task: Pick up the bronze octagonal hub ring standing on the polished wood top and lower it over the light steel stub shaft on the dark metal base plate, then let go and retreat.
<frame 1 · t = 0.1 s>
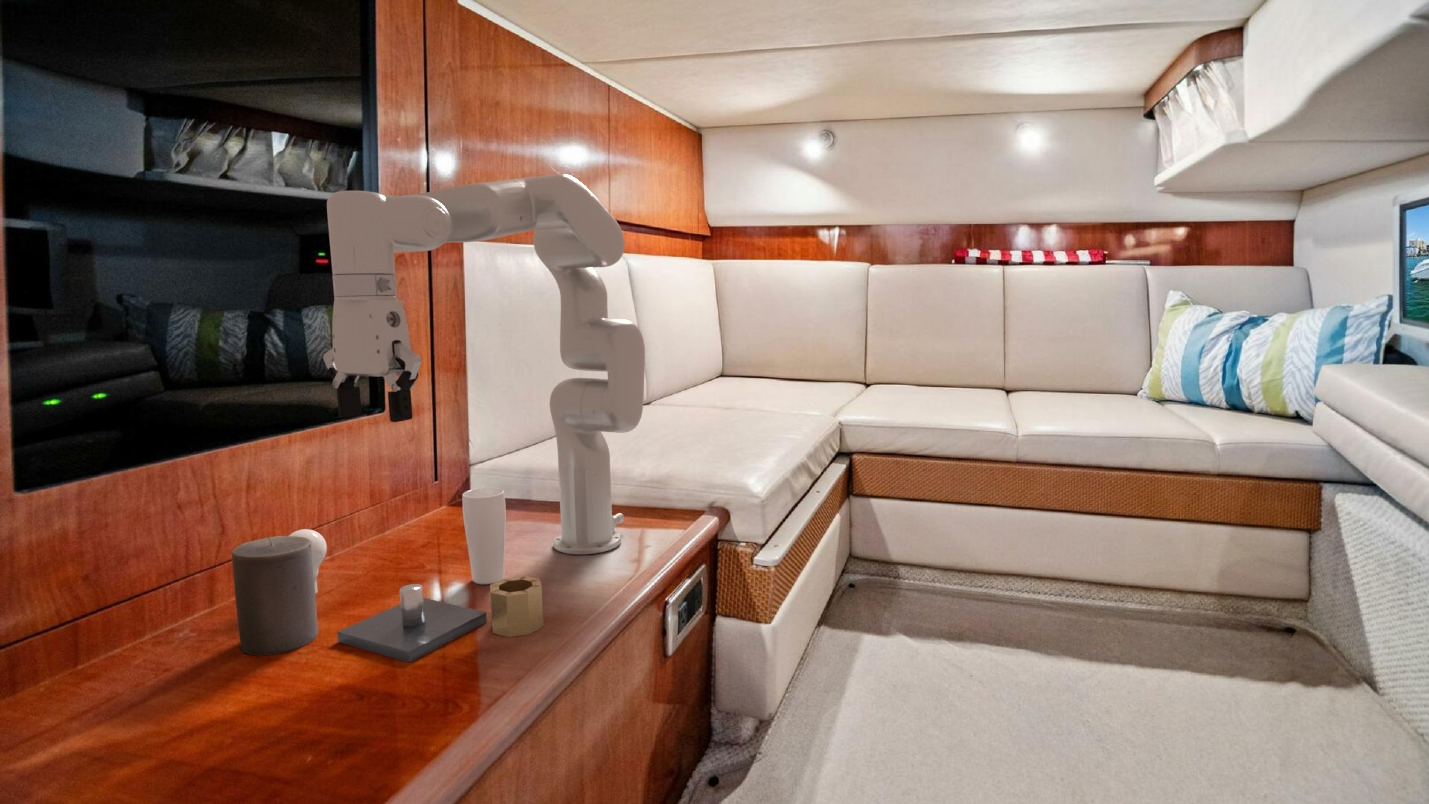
hand: (375, 418, 105), 31 cm above the counter, fingers open, 9 cm apart
drinking glass: (488, 581, 132), on the counter
shaft block: (414, 631, 112), on the counter
lightbulb: (308, 597, 126), on the counter
pillar candle: (281, 641, 110), on the counter
hub ring: (517, 625, 113), on the counter
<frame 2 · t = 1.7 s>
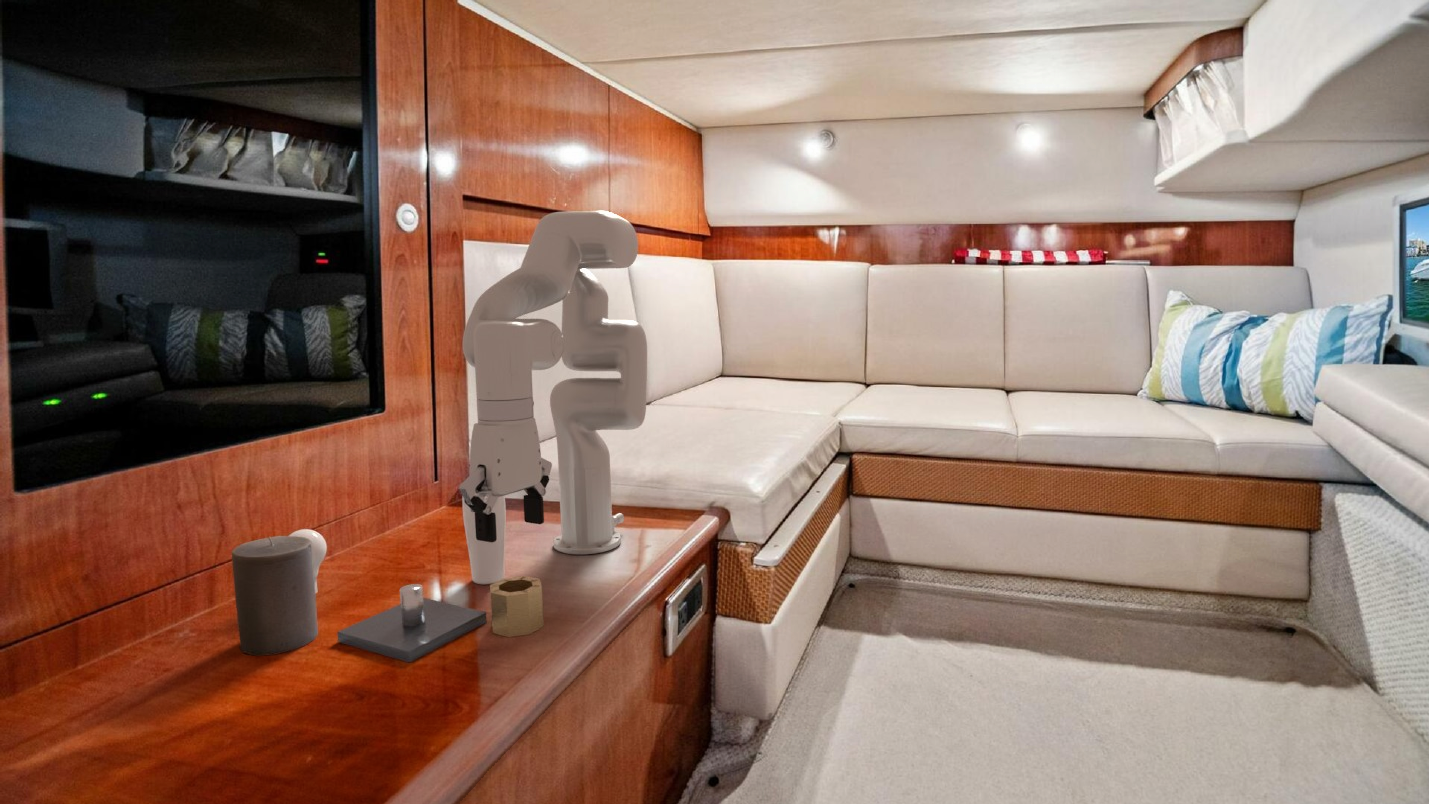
hand: (511, 531, 111), 14 cm above the counter, fingers open, 9 cm apart
nothing on the counter moved.
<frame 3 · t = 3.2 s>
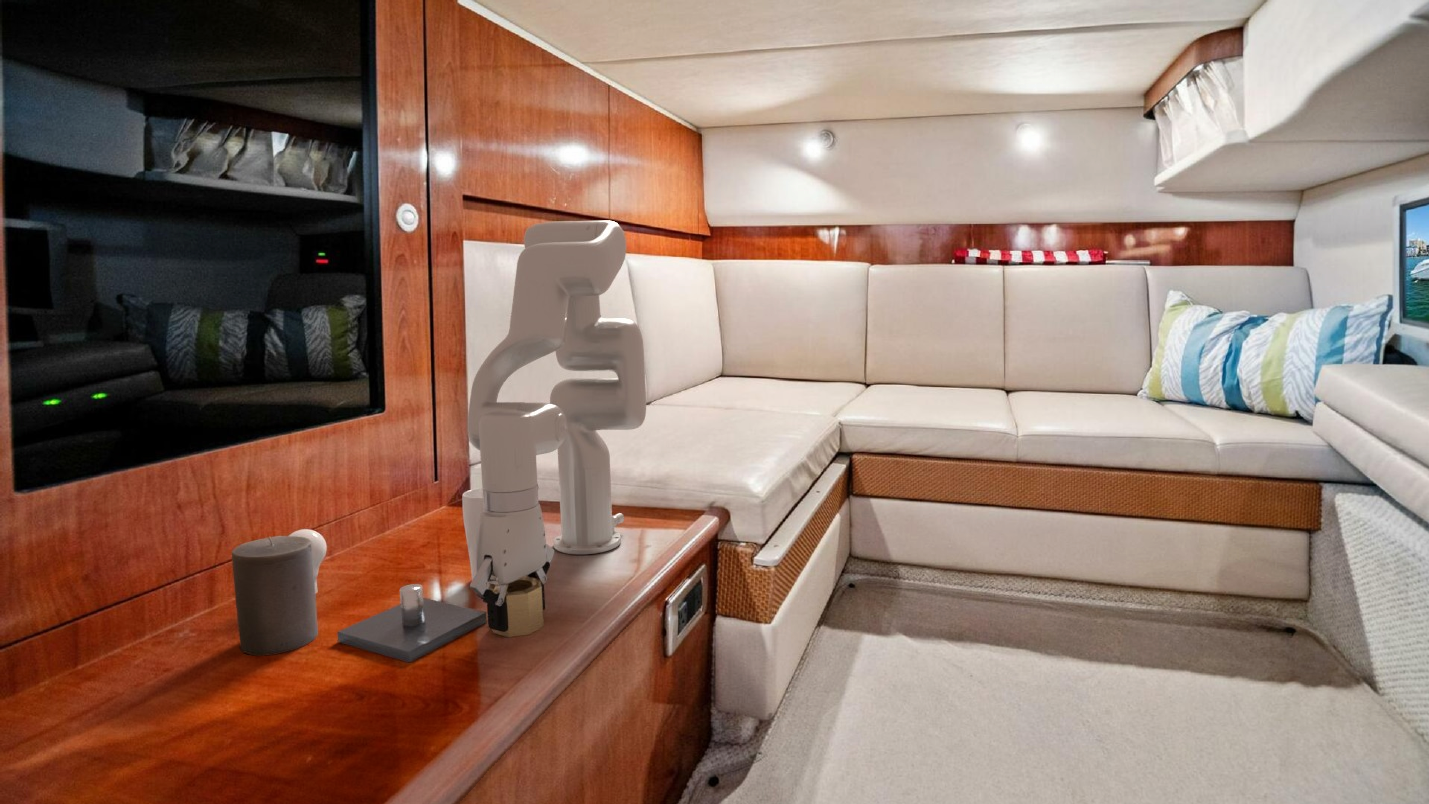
hand: (517, 618, 113), 1 cm above the counter, fingers closed on hub ring, 7 cm apart
hub ring: (517, 625, 113), on the counter, touching gripper
everything else where it was.
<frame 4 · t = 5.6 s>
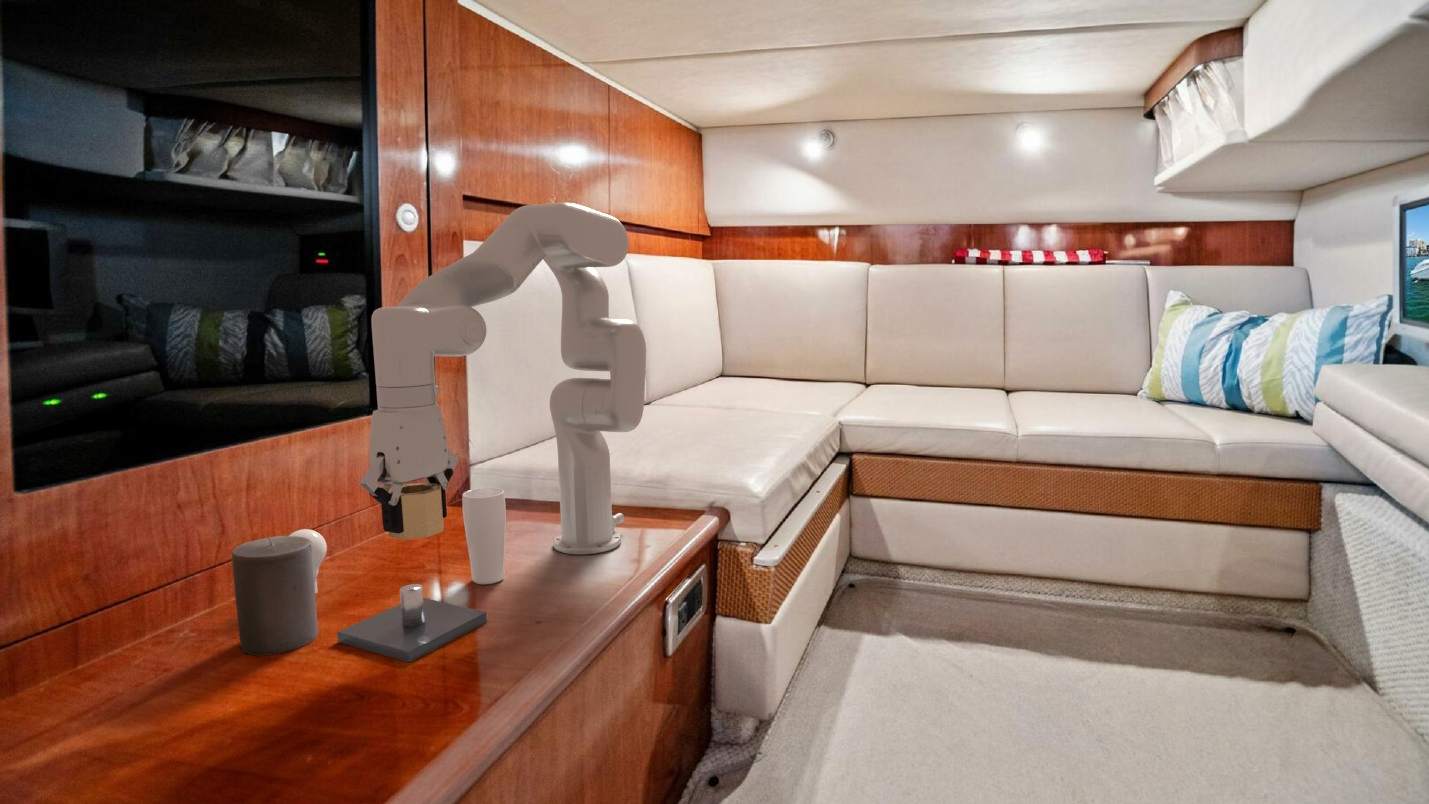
hand: (416, 523, 110), 16 cm above the counter, fingers closed on hub ring, 7 cm apart
hub ring: (417, 531, 110), point 15 cm above the counter, touching gripper
everything else where it was.
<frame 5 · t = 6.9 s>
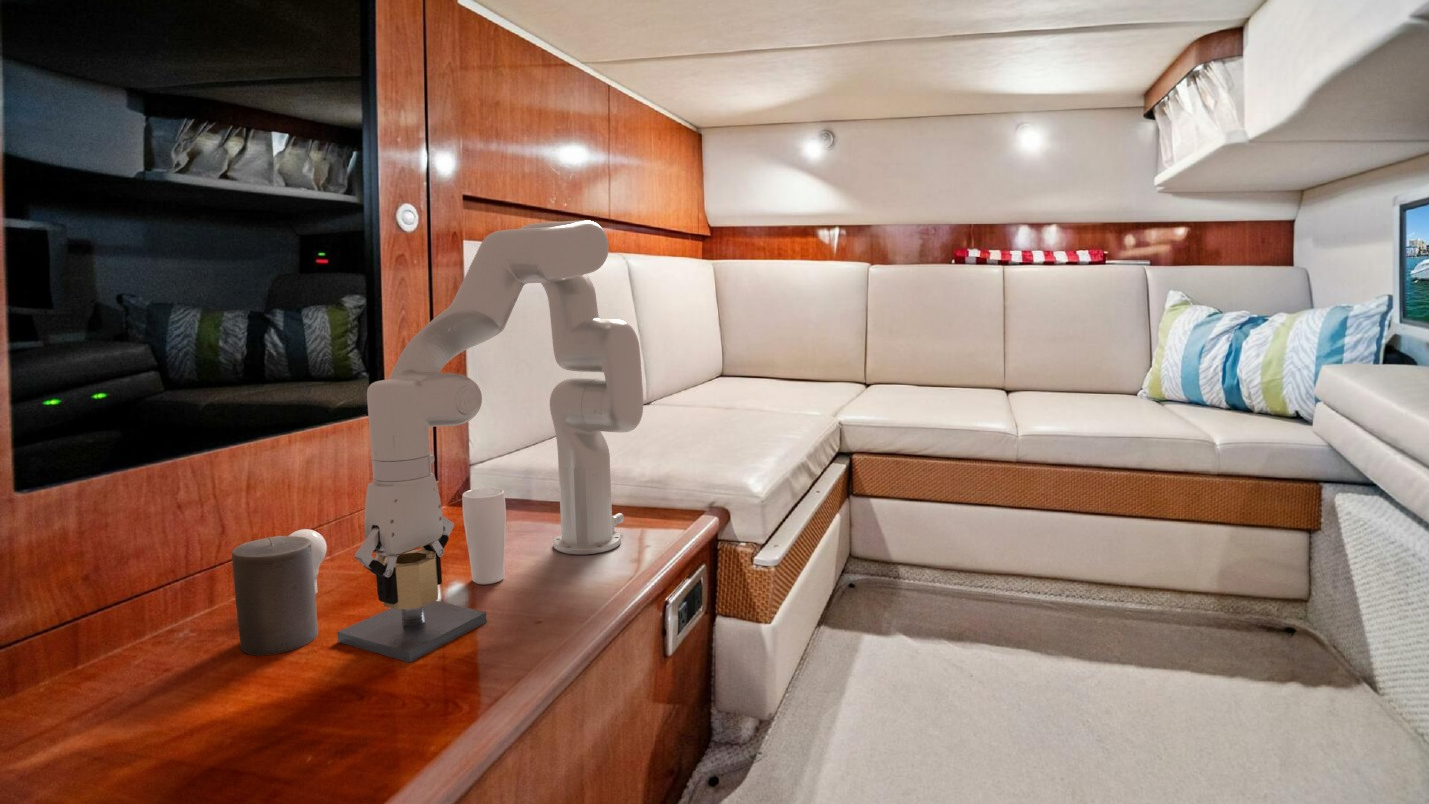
hand: (411, 591, 111), 6 cm above the counter, fingers closed on hub ring, 7 cm apart
hub ring: (411, 599, 111), point 5 cm above the counter, touching gripper
everything else where it was.
when the fingers open (3 cm above the counter, at t = 7.9 s): hub ring stays where it is, resting on shaft block.
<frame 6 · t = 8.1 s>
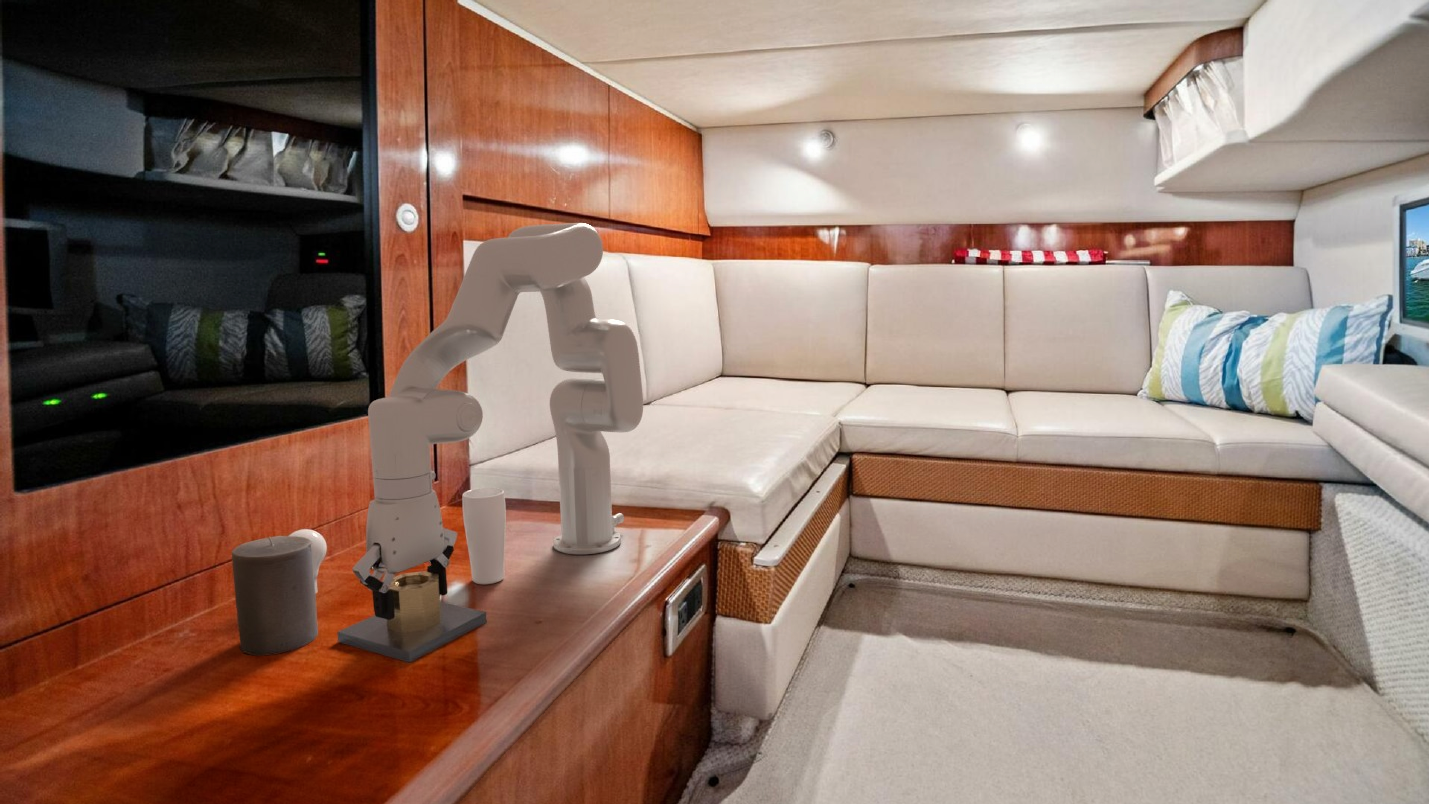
hand: (412, 604, 111), 4 cm above the counter, fingers open, 9 cm apart
hub ring: (414, 621, 112), point 1 cm above the counter, touching shaft block
everything else where it was.
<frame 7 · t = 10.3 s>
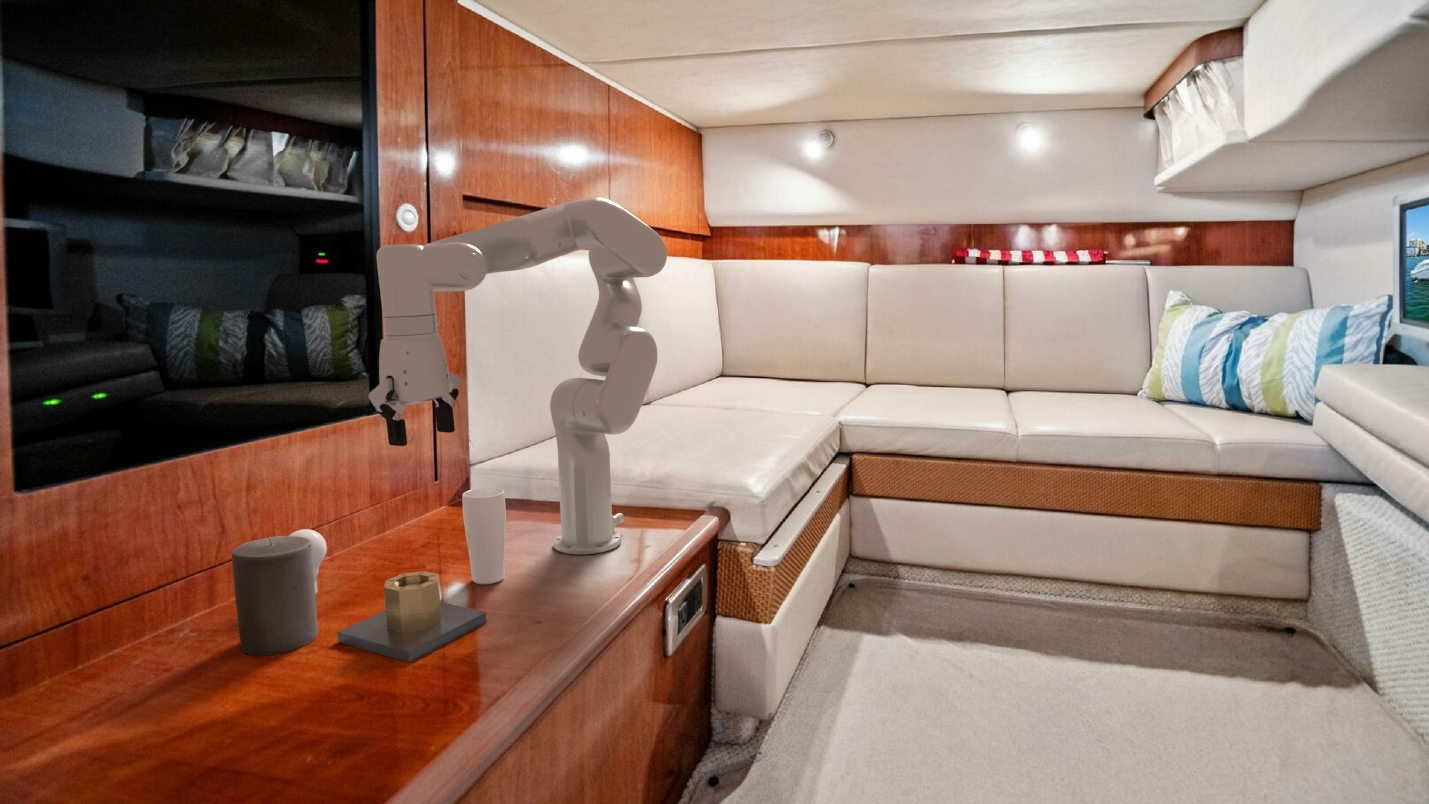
hand: (423, 438, 122), 25 cm above the counter, fingers open, 9 cm apart
nothing on the counter moved.
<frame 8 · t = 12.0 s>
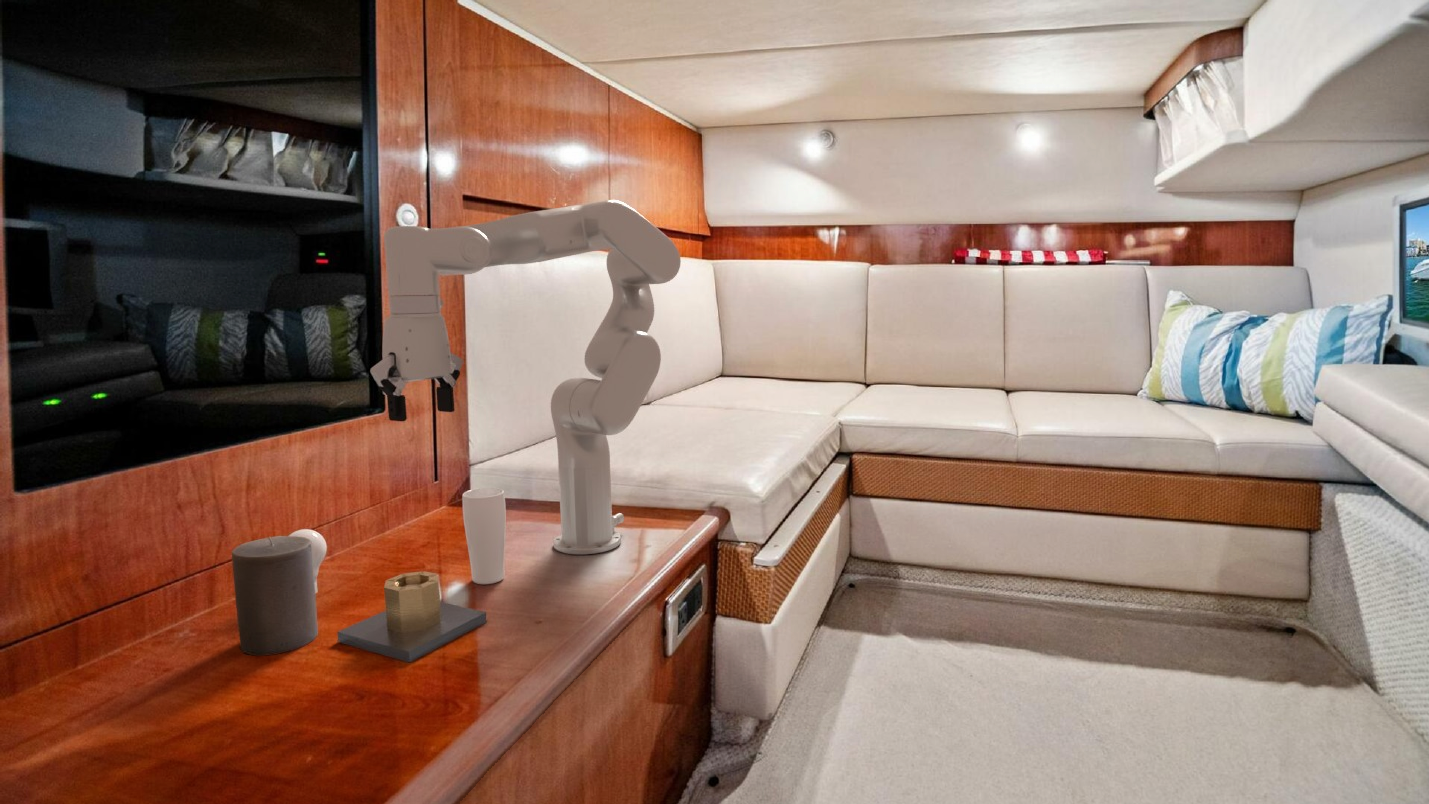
hand: (422, 415, 125), 28 cm above the counter, fingers open, 9 cm apart
nothing on the counter moved.
at the end: hub ring 0.2 cm off-centre on the shaft block, point 1.5 cm above the shaft block's base; hub ring tilted 0°; the gripper is holding nothing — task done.
